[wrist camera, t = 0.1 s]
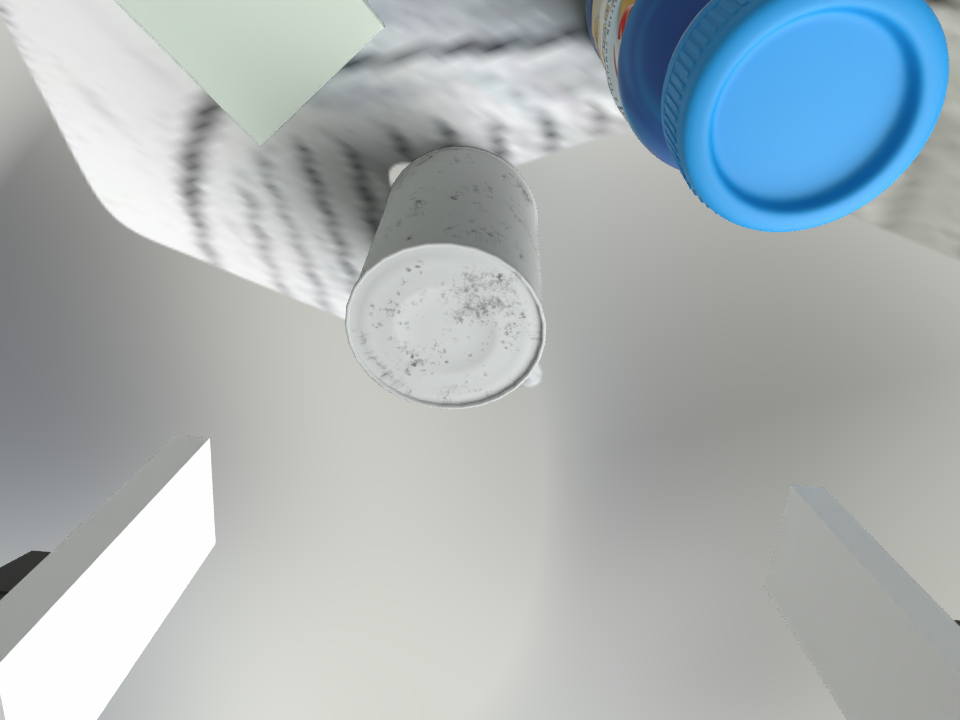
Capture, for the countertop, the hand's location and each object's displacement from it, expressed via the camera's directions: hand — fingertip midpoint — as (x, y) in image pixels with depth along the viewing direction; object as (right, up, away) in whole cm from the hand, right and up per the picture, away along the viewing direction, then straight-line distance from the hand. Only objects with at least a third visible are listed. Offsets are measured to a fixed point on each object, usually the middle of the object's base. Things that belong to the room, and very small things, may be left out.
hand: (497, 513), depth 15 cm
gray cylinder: (-2, +12, +26) cm, 29 cm away
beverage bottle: (+9, +22, +18) cm, 30 cm away
